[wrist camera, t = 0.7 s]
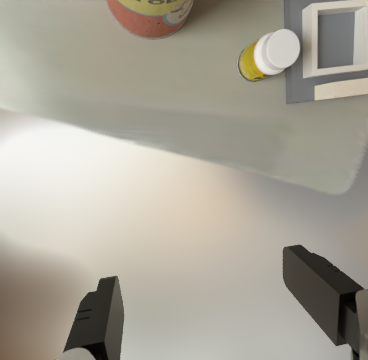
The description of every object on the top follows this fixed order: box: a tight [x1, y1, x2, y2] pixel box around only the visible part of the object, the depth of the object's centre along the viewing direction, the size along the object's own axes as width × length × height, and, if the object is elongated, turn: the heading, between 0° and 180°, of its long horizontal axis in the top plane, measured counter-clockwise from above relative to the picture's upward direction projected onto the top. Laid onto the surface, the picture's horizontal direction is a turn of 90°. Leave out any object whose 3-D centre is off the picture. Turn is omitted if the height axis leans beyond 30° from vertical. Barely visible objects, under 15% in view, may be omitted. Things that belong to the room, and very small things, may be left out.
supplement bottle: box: [237, 29, 300, 82], centre depth 32 cm, size 5×5×8 cm
